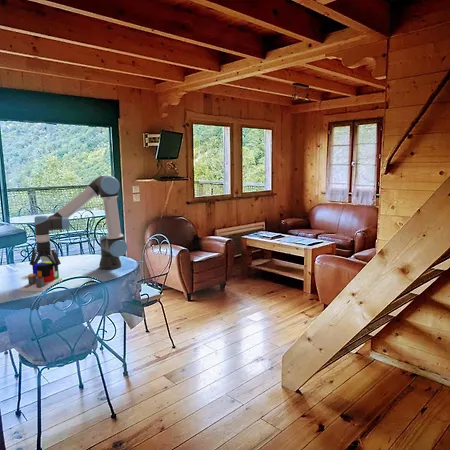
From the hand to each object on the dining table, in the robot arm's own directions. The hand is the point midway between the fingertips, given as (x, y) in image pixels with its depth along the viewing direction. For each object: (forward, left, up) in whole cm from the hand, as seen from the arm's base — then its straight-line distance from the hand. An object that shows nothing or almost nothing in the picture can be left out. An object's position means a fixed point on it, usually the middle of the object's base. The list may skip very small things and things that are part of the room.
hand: (46, 276), depth 236 cm
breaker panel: (0, +5, -5) cm, 7 cm away
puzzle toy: (0, 0, -2) cm, 2 cm away
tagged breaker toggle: (+4, +8, -2) cm, 9 cm away
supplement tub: (+14, -27, -5) cm, 31 cm away
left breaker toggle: (-4, +13, -2) cm, 14 cm away
